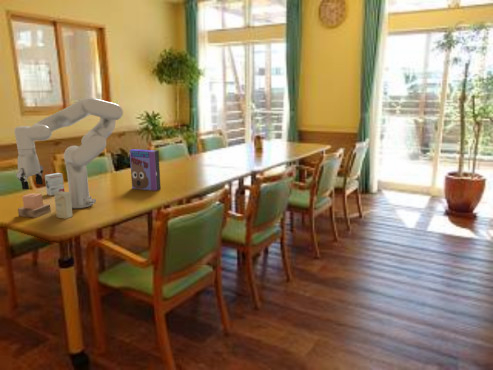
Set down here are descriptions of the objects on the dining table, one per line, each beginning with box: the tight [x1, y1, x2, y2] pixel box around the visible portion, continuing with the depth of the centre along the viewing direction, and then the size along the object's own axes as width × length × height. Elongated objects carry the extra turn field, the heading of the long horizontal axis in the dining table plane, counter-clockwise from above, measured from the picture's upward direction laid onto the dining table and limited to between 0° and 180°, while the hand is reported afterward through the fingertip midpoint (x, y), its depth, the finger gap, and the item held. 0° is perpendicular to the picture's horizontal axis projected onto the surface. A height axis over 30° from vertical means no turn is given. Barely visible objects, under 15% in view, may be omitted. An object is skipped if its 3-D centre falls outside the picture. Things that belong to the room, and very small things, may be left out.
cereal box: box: [128, 148, 162, 192], centre depth 246 cm, size 17×5×24 cm, turn 68°
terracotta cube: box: [21, 192, 44, 209], centre depth 199 cm, size 6×6×6 cm
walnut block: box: [17, 203, 52, 218], centre depth 201 cm, size 10×10×4 cm
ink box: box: [44, 172, 66, 196], centre depth 238 cm, size 9×5×12 cm, turn 141°
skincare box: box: [54, 191, 73, 220], centre depth 194 cm, size 6×4×12 cm
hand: (32, 186), depth 198 cm, fingers open, 9 cm apart
